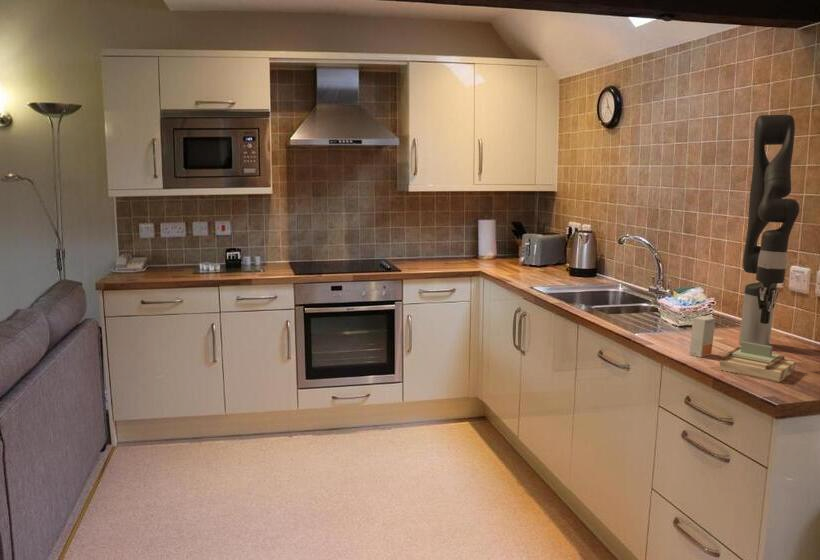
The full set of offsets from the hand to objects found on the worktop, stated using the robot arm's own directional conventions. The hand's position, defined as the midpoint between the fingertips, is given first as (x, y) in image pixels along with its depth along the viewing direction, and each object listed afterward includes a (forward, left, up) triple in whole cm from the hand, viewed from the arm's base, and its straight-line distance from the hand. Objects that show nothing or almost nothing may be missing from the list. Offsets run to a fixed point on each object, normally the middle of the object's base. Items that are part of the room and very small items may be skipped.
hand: (764, 323), depth 208 cm
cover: (+6, 0, -9) cm, 11 cm away
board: (+9, +2, -13) cm, 15 cm away
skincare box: (+4, -16, -13) cm, 21 cm away
